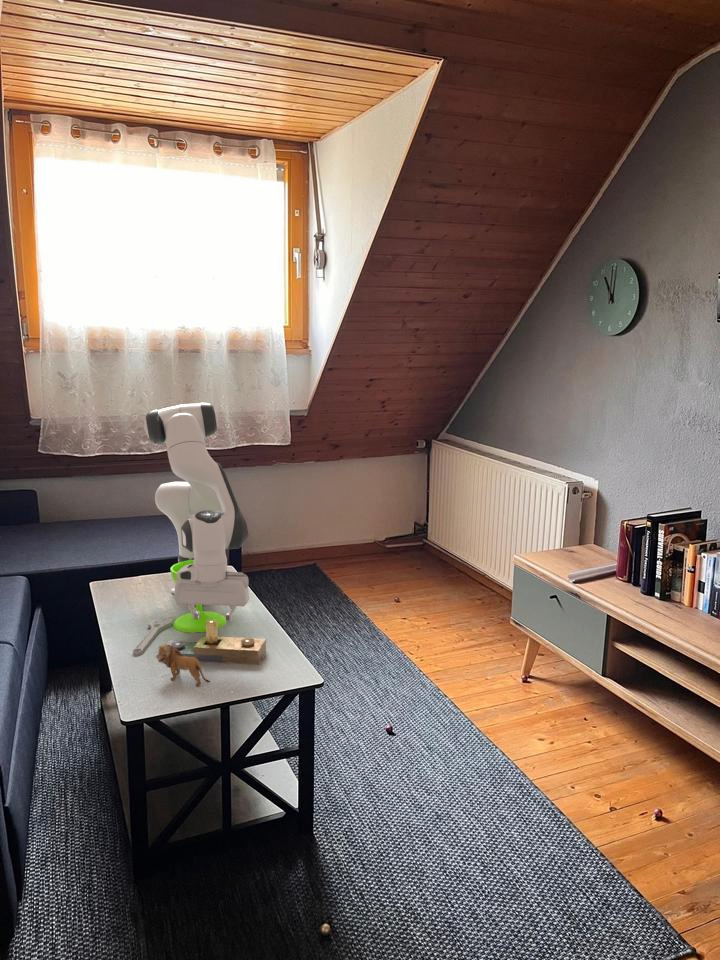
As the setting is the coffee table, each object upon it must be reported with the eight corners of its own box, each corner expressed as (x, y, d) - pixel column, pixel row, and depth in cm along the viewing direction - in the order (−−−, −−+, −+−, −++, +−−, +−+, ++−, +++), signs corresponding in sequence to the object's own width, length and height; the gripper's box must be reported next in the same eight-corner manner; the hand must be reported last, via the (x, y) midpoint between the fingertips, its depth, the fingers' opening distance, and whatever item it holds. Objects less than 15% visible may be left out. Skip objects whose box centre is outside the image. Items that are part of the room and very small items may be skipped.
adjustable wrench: (140, 657, 207) (140, 651, 207) (118, 656, 208) (118, 650, 208) (174, 623, 232) (174, 617, 231) (154, 622, 233) (154, 617, 232)
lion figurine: (154, 680, 192) (152, 647, 190) (165, 672, 197) (163, 640, 195) (205, 688, 188) (204, 654, 186) (215, 679, 193) (214, 646, 191)
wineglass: (177, 636, 221) (174, 577, 218) (169, 617, 235) (166, 562, 232) (231, 628, 227) (229, 571, 223) (220, 610, 241) (218, 557, 238)
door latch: (170, 647, 213) (169, 630, 212) (266, 652, 209) (265, 635, 208) (159, 658, 205) (158, 641, 204) (258, 664, 201) (258, 647, 200)
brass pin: (209, 653, 209) (208, 619, 207) (219, 653, 208) (218, 619, 206) (205, 657, 206) (204, 623, 204) (216, 658, 205) (215, 623, 204)
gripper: (251, 568, 205) (252, 616, 207) (179, 565, 207) (181, 612, 210) (244, 576, 198) (246, 625, 201) (170, 573, 201) (173, 621, 204)
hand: (212, 619), depth 206 cm, fingers open, 8 cm apart
